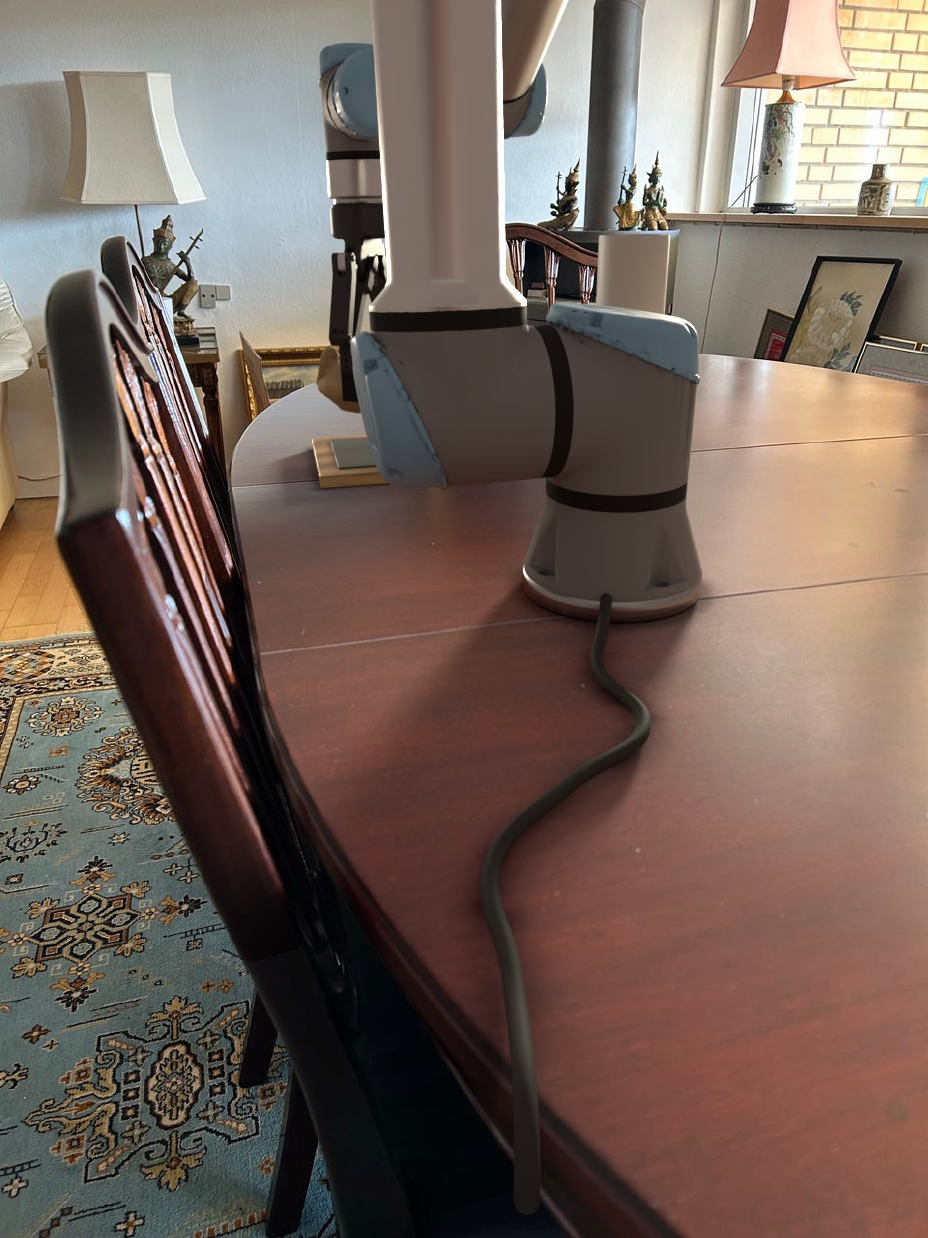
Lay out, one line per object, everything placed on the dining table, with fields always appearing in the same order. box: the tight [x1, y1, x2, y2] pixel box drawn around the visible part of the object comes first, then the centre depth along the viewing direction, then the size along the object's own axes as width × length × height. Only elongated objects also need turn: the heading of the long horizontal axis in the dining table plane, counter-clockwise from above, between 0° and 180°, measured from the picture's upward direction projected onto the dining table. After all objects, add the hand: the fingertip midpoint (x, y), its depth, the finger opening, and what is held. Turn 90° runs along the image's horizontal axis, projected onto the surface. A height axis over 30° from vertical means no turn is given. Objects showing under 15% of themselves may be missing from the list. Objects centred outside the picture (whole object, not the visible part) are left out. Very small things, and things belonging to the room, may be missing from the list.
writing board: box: [311, 434, 389, 489], centre depth 117 cm, size 20×16×2 cm
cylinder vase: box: [595, 233, 671, 315], centre depth 164 cm, size 12×12×25 cm
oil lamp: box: [315, 345, 361, 414], centre depth 113 cm, size 11×15×8 cm
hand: (373, 392), depth 114 cm, fingers closed on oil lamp, 11 cm apart
